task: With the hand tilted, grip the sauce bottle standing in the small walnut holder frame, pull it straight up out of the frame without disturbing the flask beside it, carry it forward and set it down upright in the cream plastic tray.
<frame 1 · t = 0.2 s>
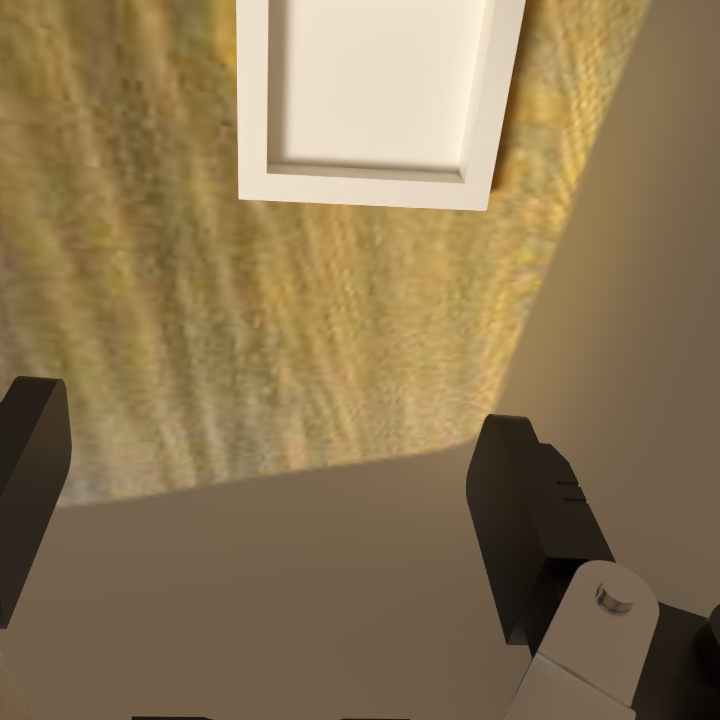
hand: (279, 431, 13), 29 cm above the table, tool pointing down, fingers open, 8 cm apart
tray: (370, 73, 37), on the table
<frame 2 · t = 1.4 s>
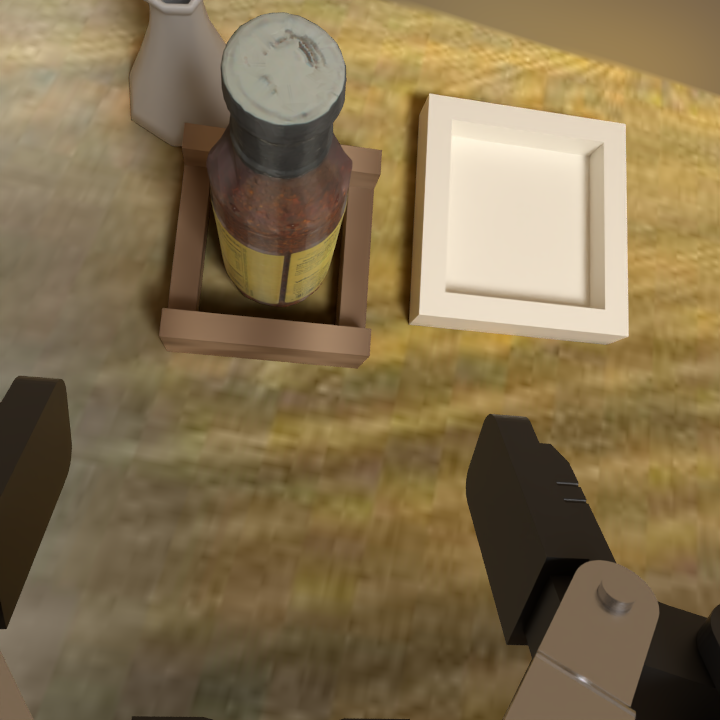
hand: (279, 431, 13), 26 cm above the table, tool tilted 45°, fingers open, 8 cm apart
sauce bottle: (272, 262, 41), resting in holder
tray: (512, 228, 44), on the table
holder: (273, 261, 41), on the table
flask: (189, 97, 42), on the table
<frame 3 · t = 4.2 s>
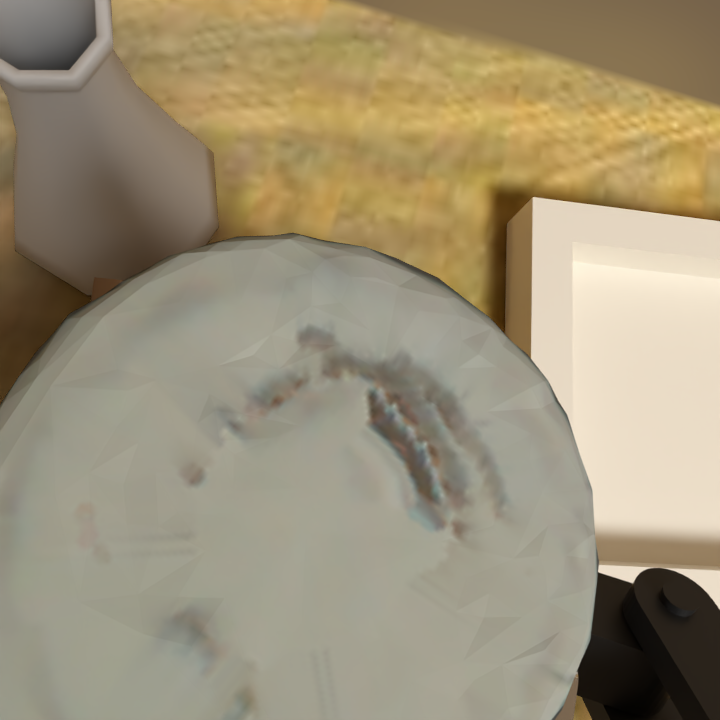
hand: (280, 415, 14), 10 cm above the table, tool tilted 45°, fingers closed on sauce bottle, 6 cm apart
sauce bottle: (263, 497, 24), resting in holder, touching gripper
tray: (664, 414, 26), on the table
holder: (263, 497, 23), on the table
flask: (120, 205, 25), on the table
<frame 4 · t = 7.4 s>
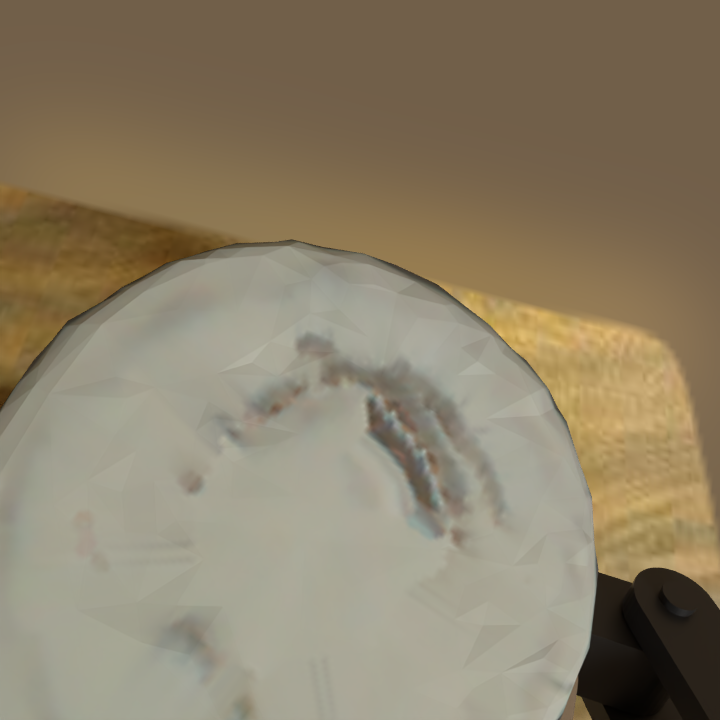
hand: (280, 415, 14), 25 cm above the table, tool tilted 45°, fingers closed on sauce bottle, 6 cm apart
sauce bottle: (263, 498, 24), point 15 cm above the table, touching gripper
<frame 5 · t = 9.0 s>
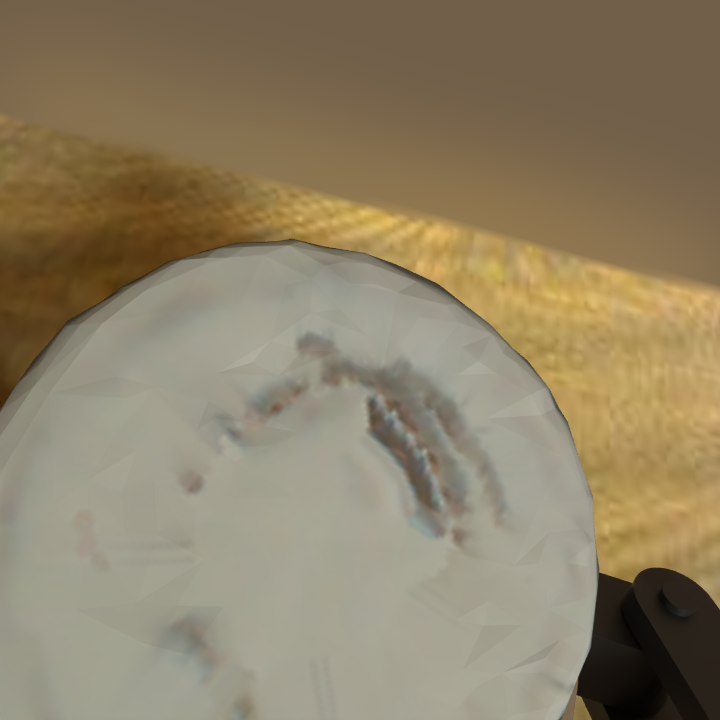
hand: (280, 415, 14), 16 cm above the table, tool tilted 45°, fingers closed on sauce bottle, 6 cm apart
sauce bottle: (263, 498, 24), point 6 cm above the table, touching gripper
when the fingers open (12 cm above the table, at t = 10.5 s): sauce bottle stays where it is, resting on tray.
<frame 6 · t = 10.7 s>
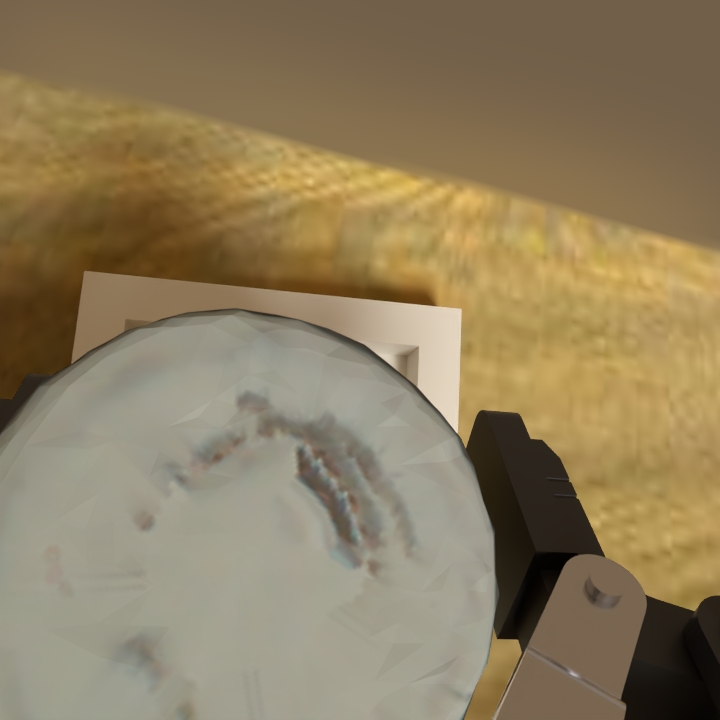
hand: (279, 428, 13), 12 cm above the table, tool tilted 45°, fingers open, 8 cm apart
sauce bottle: (258, 503, 24), resting on tray
tray: (261, 495, 25), on the table
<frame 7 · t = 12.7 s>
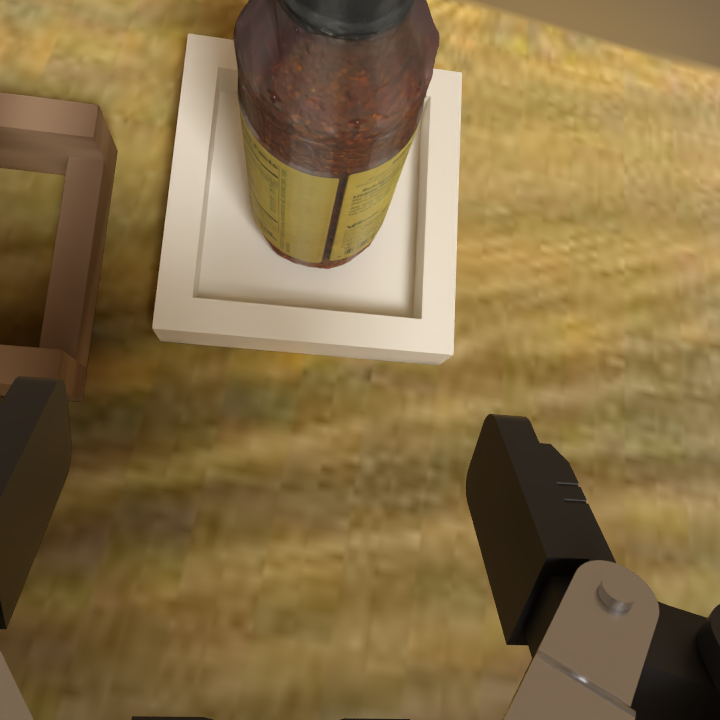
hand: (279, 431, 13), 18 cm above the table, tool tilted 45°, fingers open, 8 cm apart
sauce bottle: (312, 215, 33), resting on tray
tray: (313, 213, 33), on the table
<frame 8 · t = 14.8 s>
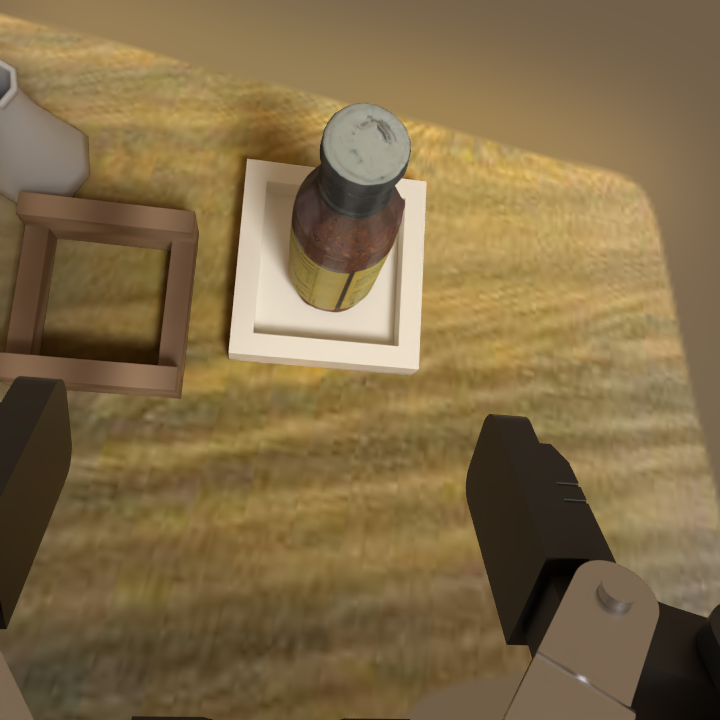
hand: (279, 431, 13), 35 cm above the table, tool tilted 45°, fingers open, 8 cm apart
sauce bottle: (327, 275, 50), resting on tray
tray: (328, 273, 50), on the table
holder: (108, 306, 47), on the table
flask: (39, 163, 49), on the table
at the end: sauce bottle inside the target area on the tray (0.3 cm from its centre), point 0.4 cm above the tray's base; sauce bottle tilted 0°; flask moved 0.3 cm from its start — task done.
